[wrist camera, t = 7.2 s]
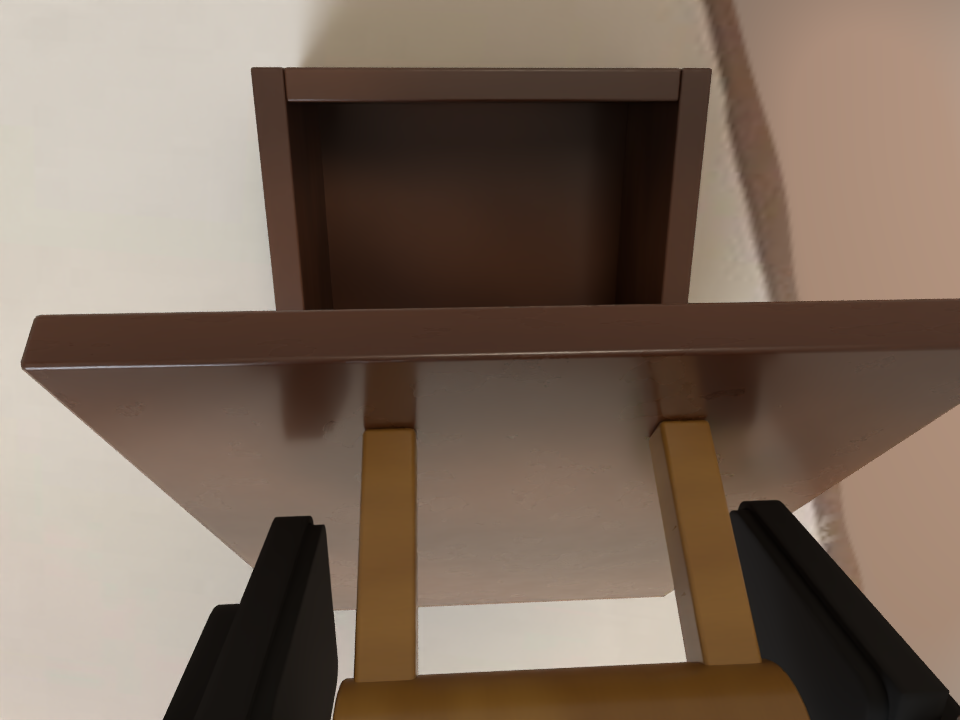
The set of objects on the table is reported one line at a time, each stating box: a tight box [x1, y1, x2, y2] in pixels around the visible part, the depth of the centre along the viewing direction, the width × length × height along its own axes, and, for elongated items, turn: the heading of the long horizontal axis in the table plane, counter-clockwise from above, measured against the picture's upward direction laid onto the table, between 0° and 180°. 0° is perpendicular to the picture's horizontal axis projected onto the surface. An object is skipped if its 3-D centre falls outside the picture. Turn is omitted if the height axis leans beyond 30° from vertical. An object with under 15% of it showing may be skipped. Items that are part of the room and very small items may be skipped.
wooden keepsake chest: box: [251, 67, 712, 311], centre depth 23 cm, size 16×12×6 cm
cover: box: [21, 299, 960, 720], centre depth 14 cm, size 16×12×6 cm
